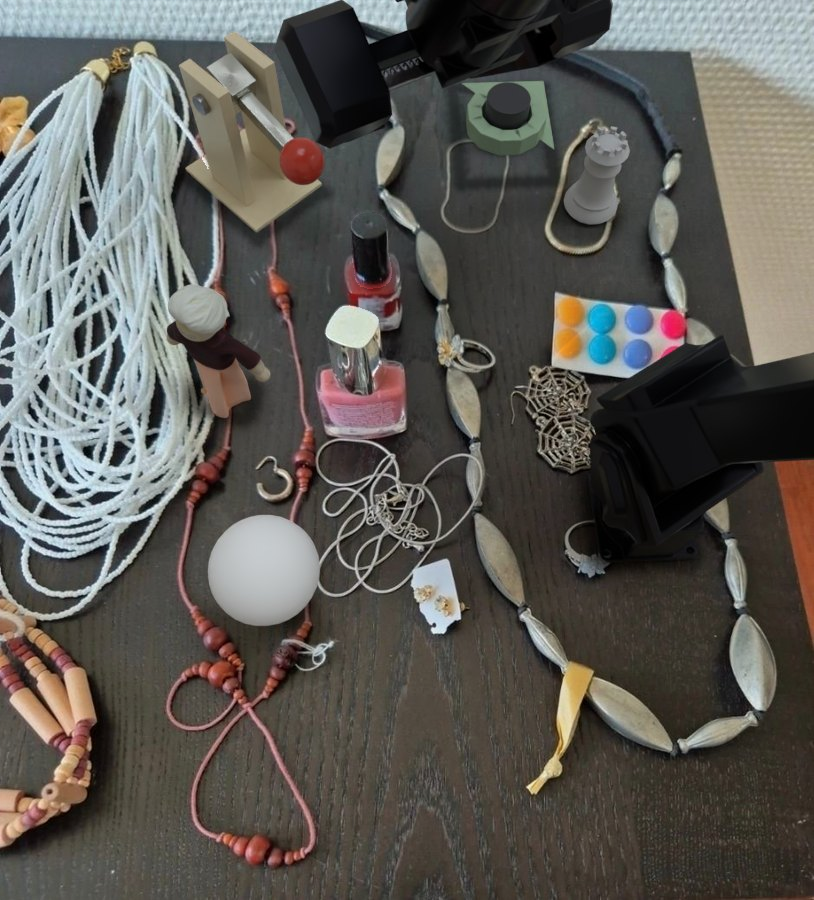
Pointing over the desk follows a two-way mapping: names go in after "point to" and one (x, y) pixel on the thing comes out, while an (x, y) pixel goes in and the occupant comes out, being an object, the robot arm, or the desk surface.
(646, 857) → the desk surface
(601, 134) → the rook chess piece
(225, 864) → the desk surface
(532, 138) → the button block
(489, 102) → the black button
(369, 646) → the desk surface
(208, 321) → the grandmother figurine
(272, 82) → the switch bracket
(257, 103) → the switch lever
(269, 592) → the lightbulb
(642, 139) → the desk surface
